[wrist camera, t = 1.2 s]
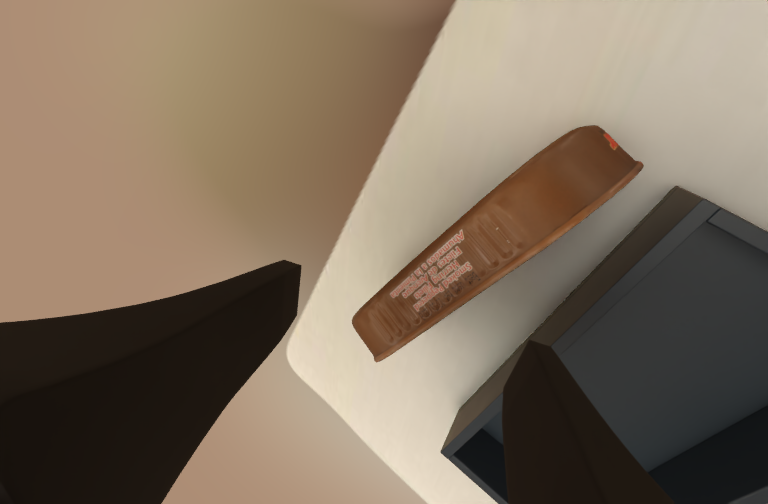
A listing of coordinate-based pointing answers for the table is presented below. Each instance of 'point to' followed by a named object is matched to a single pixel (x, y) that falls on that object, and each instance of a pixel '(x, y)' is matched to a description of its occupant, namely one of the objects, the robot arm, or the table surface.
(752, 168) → the table surface
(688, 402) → the bin
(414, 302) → the tin
